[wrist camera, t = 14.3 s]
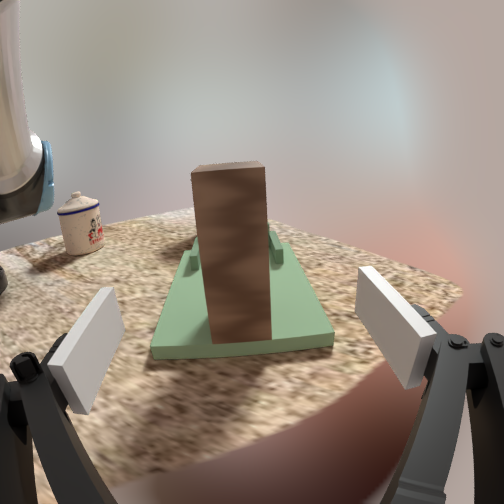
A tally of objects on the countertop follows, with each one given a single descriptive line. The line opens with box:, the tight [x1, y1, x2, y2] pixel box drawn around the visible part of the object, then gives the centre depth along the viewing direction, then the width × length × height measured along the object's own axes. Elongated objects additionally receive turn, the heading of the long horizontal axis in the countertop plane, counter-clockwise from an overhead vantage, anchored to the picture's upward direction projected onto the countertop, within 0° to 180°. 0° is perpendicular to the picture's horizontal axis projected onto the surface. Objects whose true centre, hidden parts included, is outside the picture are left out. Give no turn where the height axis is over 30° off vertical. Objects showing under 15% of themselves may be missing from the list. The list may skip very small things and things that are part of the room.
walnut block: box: [191, 161, 272, 344], centre depth 26 cm, size 5×6×14 cm
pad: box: [150, 222, 335, 360], centre depth 36 cm, size 16×24×5 cm, turn 4°
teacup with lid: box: [57, 192, 105, 256], centre depth 56 cm, size 12×9×12 cm
